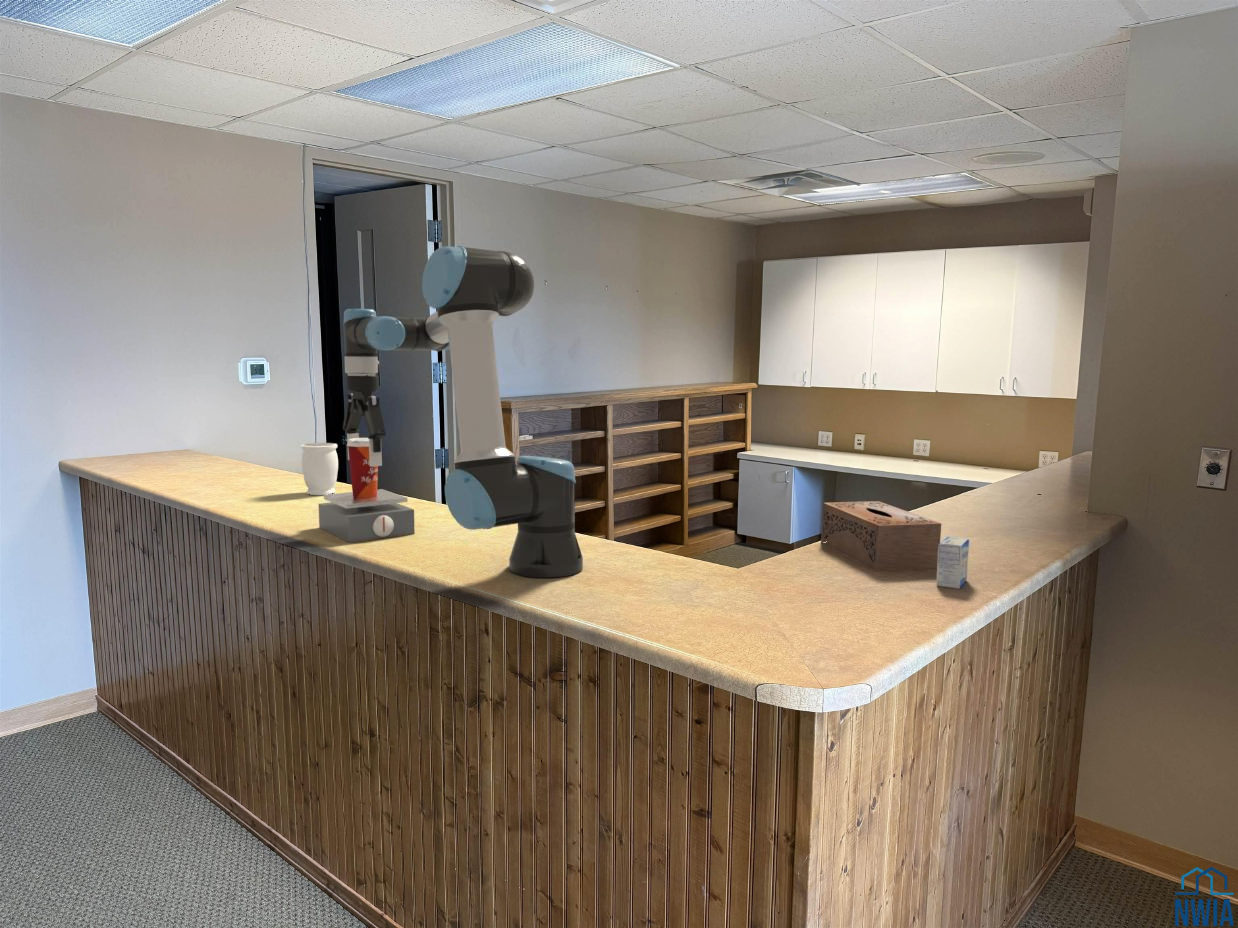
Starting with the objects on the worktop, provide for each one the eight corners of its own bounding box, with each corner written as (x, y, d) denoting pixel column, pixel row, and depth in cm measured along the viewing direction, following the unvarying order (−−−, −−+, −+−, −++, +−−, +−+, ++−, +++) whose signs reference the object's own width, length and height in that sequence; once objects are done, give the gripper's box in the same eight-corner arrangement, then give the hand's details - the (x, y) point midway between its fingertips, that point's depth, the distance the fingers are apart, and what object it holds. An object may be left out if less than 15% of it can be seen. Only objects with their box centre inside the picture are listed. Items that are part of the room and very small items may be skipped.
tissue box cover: (938, 569, 178) (941, 523, 176) (876, 572, 175) (879, 525, 173) (876, 541, 203) (878, 501, 201) (821, 543, 200) (822, 502, 198)
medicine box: (959, 589, 162) (962, 546, 161) (935, 586, 164) (938, 542, 163) (966, 580, 169) (969, 538, 167) (943, 577, 171) (946, 535, 170)
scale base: (415, 534, 202) (415, 509, 201) (351, 543, 192) (350, 517, 191) (380, 519, 218) (380, 497, 217) (319, 527, 208) (318, 503, 207)
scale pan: (407, 506, 203) (407, 497, 203) (347, 513, 194) (346, 504, 194) (382, 497, 215) (382, 489, 215) (324, 503, 206) (323, 494, 205)
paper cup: (371, 499, 200) (370, 441, 198) (342, 498, 201) (340, 440, 199) (387, 494, 207) (385, 437, 205) (358, 492, 209) (356, 436, 207)
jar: (331, 496, 250) (330, 446, 248) (297, 496, 250) (295, 446, 248) (343, 490, 260) (342, 442, 258) (310, 490, 260) (309, 442, 258)
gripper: (398, 376, 193) (401, 467, 196) (357, 373, 212) (359, 456, 215) (367, 376, 188) (370, 470, 191) (327, 373, 207) (330, 458, 210)
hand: (364, 462), depth 203 cm, fingers open, 13 cm apart
